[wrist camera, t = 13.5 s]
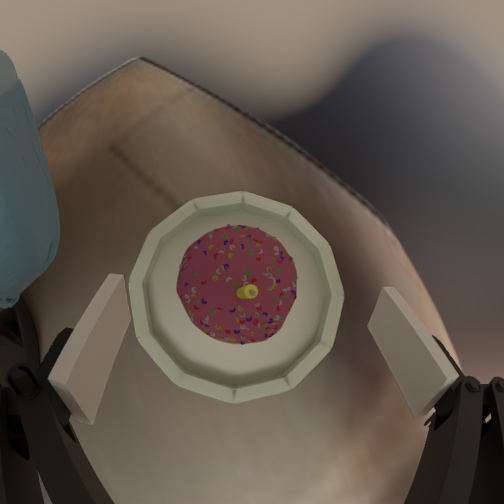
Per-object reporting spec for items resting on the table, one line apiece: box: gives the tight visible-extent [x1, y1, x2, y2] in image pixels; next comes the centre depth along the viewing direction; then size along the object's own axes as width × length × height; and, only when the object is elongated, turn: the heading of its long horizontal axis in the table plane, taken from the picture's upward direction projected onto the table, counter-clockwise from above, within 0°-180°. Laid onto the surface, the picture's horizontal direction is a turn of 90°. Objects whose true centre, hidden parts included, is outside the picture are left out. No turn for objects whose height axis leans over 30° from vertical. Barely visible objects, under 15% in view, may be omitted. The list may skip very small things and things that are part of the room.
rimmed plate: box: [128, 191, 345, 404], centre depth 23 cm, size 18×18×2 cm
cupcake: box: [176, 224, 298, 345], centre depth 18 cm, size 9×8×12 cm
